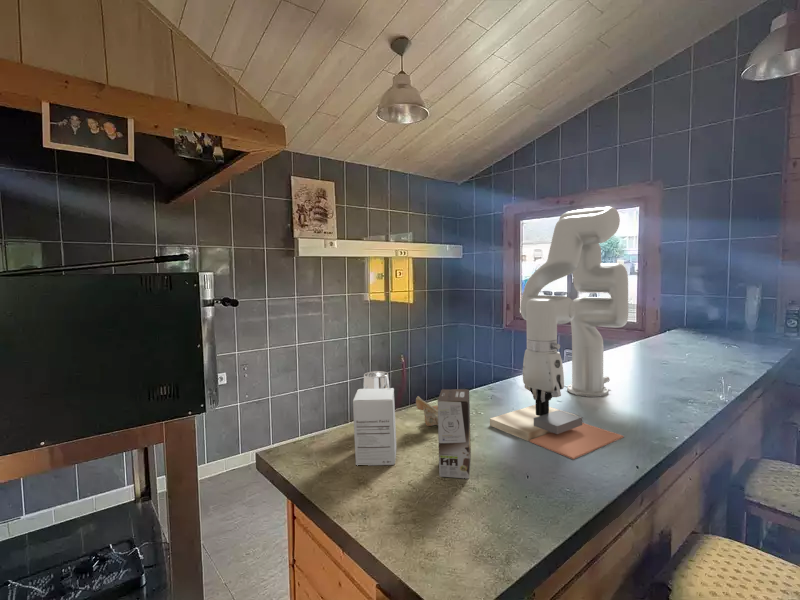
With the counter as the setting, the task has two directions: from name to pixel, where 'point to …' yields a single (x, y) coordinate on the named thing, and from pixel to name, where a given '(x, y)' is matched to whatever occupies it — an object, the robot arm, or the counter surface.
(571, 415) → the tile
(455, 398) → the coffee box
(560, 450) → the mat
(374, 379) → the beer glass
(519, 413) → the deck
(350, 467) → the counter surface
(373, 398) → the supplement box
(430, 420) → the oil lamp
